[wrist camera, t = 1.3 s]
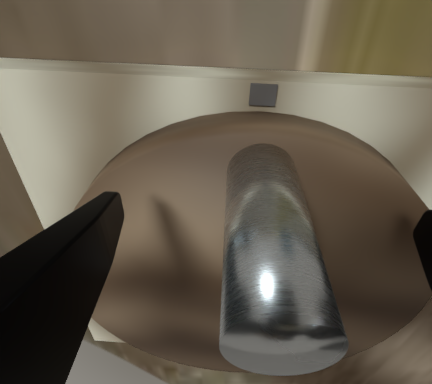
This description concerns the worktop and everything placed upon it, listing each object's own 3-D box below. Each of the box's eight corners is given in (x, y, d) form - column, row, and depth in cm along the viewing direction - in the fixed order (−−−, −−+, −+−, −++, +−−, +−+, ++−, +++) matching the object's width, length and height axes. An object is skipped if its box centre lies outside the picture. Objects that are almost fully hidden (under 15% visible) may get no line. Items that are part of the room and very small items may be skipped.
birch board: (487, 79, 12) (518, 93, 10) (338, 338, 24) (344, 359, 23) (-4, 57, 12) (-32, 67, 11) (101, 322, 25) (94, 341, 24)
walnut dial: (353, 350, 22) (402, 509, 15) (112, 334, 22) (63, 481, 16) (506, 123, 11) (893, 343, 4) (26, 99, 11) (-246, 269, 5)
